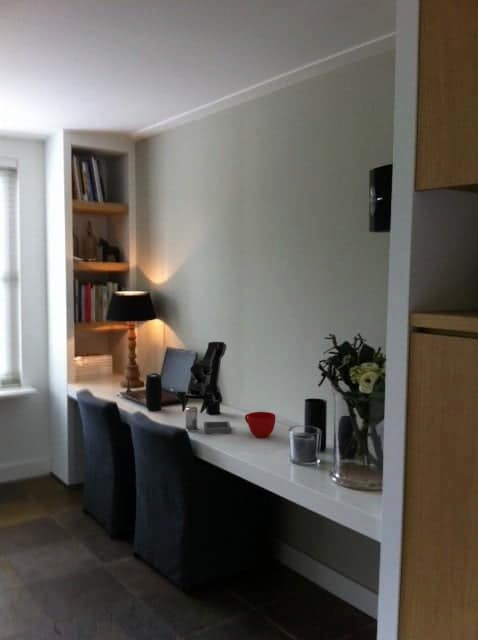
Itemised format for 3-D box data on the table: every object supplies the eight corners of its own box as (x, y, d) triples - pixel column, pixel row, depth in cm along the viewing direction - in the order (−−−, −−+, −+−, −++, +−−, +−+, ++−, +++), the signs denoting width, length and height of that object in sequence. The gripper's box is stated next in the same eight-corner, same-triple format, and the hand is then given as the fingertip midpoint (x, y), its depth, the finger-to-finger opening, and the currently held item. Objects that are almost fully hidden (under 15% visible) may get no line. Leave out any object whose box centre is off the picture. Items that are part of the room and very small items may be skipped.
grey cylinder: (195, 427, 302) (194, 405, 301) (201, 430, 296) (201, 408, 295) (181, 429, 299) (181, 407, 298) (187, 432, 293) (187, 410, 292)
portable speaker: (144, 411, 334) (143, 375, 332) (148, 407, 343) (148, 372, 341) (159, 411, 333) (159, 376, 331) (163, 407, 342) (163, 373, 340)
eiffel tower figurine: (115, 396, 373) (114, 374, 372) (130, 394, 379) (130, 372, 378) (124, 400, 361) (124, 378, 360) (140, 398, 366) (140, 376, 365)
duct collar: (203, 426, 303) (203, 421, 303) (228, 426, 304) (228, 421, 304) (205, 434, 291) (205, 428, 290) (231, 433, 292) (231, 428, 292)
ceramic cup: (255, 428, 300) (255, 408, 299) (281, 436, 288) (281, 415, 287) (236, 434, 291) (236, 413, 290) (262, 441, 279) (262, 420, 278)
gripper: (177, 375, 303) (169, 401, 294) (213, 377, 298) (206, 404, 289) (183, 387, 312) (175, 414, 302) (218, 389, 306) (211, 416, 297)
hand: (191, 412), depth 297 cm, fingers open, 9 cm apart
